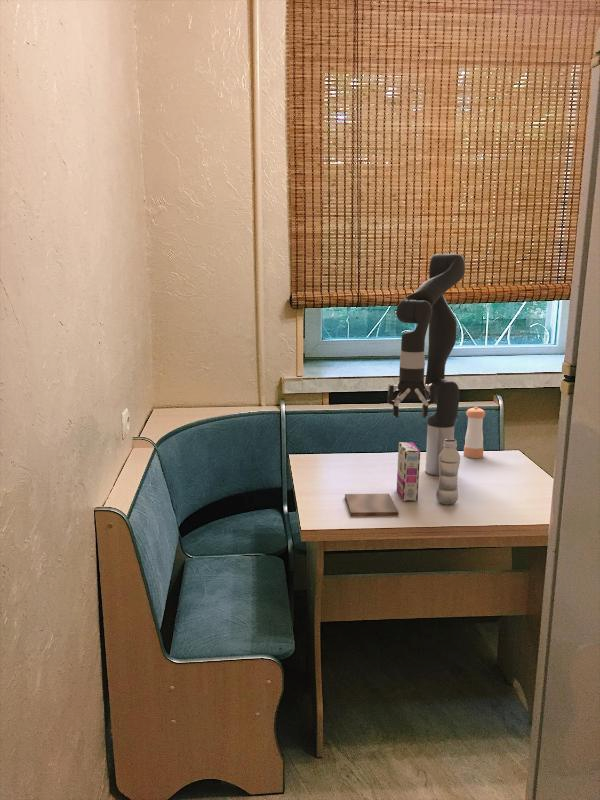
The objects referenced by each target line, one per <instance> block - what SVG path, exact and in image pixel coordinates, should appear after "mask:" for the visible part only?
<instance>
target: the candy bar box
mask: <svg viewBox="0 0 600 800" xmlns="http://www.w3.org/2000/svg"><path fill="white" fill-rule="evenodd" d="M397 451H398V453H397V473H396V492H397V493H398V495H399V497H400V499H401V501H402V502H406V503H407V502H409V503H410V502H414V503H415V502H418V500H419V498H418V497H419V481H420V480H419V479H420V478H419V477H420V464H421V463H420V462H421V461H420V460H421V451H420V449H419V448H418V447H417V446H416V445H415V443H414V442H413V441H405V442H403V441H402V442H401V441H400V442H398V450H397Z"/></svg>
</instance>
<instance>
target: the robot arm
mask: <svg viewBox="0 0 600 800" xmlns="http://www.w3.org/2000/svg"><path fill="white" fill-rule="evenodd" d="M428 266H429V267H428V270H429V271H428V278H429V279H427V280H426V281H424V282H423V283H422V284H421V285H419V286H418V288H417V290H415V292H412V293H410V294H409V295H407V296H405V297H404V298H402V299H401V300H400V301H399V303H398V305H397V306H396V310H395V311H396V312H395V313H396V318H397V320H398V321H399V322H401V323H404V324H416V327H415V329H413V330H407V331H404V332H403V333H402V334H401V343H400V344H401V346H400V347H401V348H400V357H399V373H398V374H399V379H398V384H392V383H389V384H388V386H387V388H388V390H387V400H386V401H387V403H388V404H389V405H392V415H393V416H394V418H395V419H399V409H400V407H399V404H401V402H403V400H404V399H406V400H410V399H413V400H417V399H419V400H420V401H421V402H422V405H421V417H422V418H426V417H427V416H428V414H429V413H428V412H429V406H430V405H436V410H435V413H432V414H430V415H429V416H428V417H427V430H426V431H427V432H426V453H425V472H426V473H427V474H428V475H432V476H438V477H439V474H440V473H439V454H440V453H441V451H442V450H443V449H444V446H443V445H444V440H446V439H453V440H455V424H456V420H457V418H458V413H459V404H460V388H459V385H458V384H457V383H456V382H455V381H453V380H450V379H445V376H446V375H445V371H446V365H447V361H448V358H449V357H450V355H451V354H452V351H453V349H454V347H455V344H456V343H457V342H456V340H457V328H458V327H457V325H458V324H457V322H458V321H457V318H456V317H455V314H454V312H453V311H452V309H451V307H450V306H449V303H448V302H447V300H446V298H445V295H444V294H445V293H446V292H447V291H449V290H450V289H452V288H453V286H455V285H456V284H457V283H459V282H460V281H461V280H462V278H464V275H465V272H466V261H465V258H464V257H463V255H461V254H459V253H458V254H457V253H436V254H435V253H434V254H433V255H432V256H431V258H430V260H429V265H428ZM427 331H428V348H427V349H428V352H427V365H426V362H425V361H426V357H425V347H426V346H425V344H426V342H425V341H426V336H427ZM425 366H426V373H425ZM425 374H426V375H425ZM425 376H426V377H425ZM397 389H398V391H399V393H398V394H397V396H396V397H395V398H394V393H395V392H396V390H397ZM423 392H424V395H423ZM393 398H394V399H393Z"/></svg>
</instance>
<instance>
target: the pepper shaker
mask: <svg viewBox="0 0 600 800" xmlns="http://www.w3.org/2000/svg"><path fill="white" fill-rule="evenodd" d="M465 414H466V417H467V426H466V427H467V429H466V432H465V437H464V439H465V442H464V443H465V444H464V446H463V456H464V457H466V458H469V457H471V459H481V458H483V457H484V431H483V425H484V424H483V422H484V418H485V416H486V411H485V410H484V409H482V408H479V407H478V406H474V407H471V408H468V409H467V410H466V413H465Z"/></svg>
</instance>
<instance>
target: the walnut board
mask: <svg viewBox="0 0 600 800" xmlns="http://www.w3.org/2000/svg"><path fill="white" fill-rule="evenodd" d="M344 499H345V502H346V506H347V509H348V512H349V515H350V517H397V516H398V517H399V510H398V508H397V507H396V504H395V502H394V500H393V498H392V496H391V495H390V493H345V494H344Z"/></svg>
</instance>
